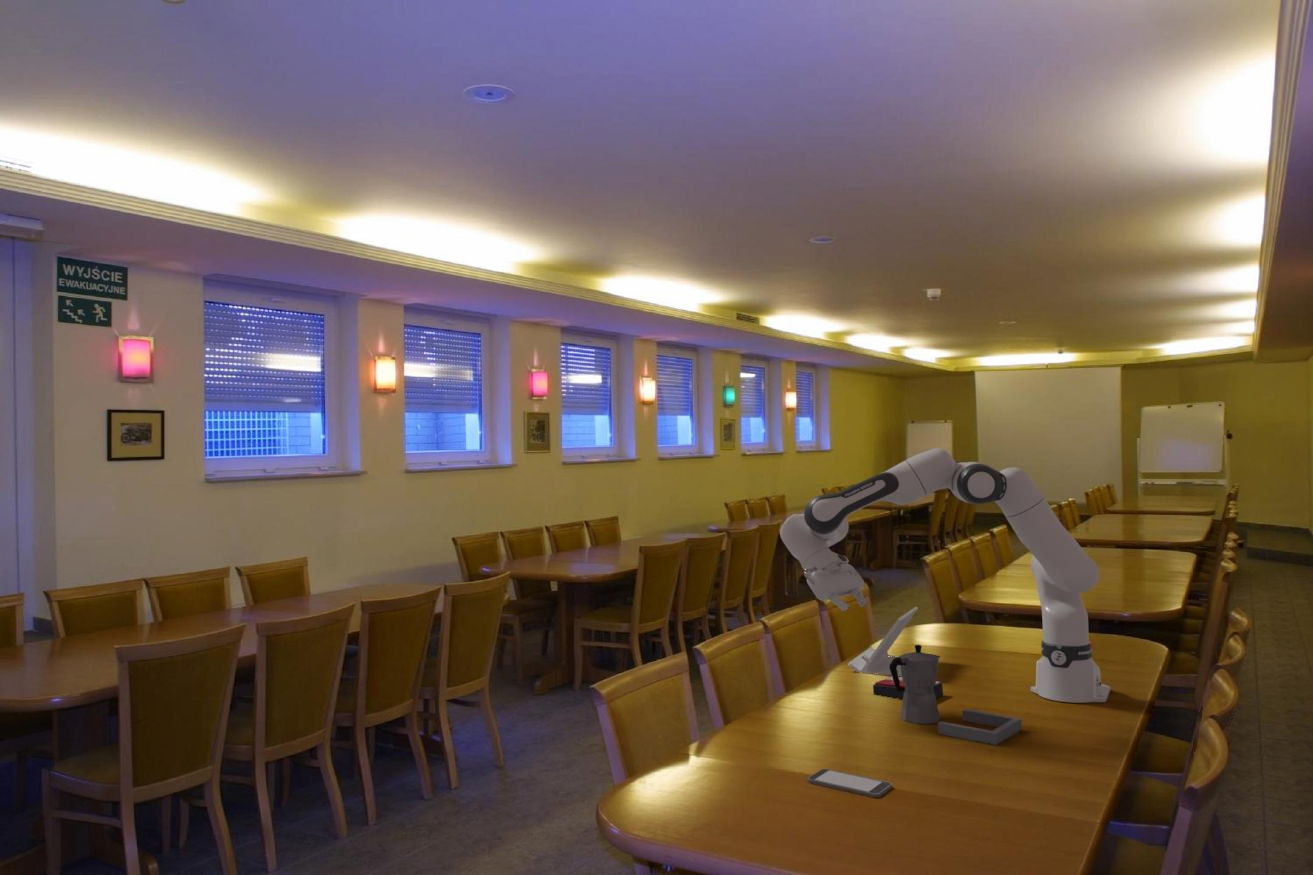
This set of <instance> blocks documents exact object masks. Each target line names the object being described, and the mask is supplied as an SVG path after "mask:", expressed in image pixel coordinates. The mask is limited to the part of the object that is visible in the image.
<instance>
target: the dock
mask: <svg viewBox="0 0 1313 875" xmlns="http://www.w3.org/2000/svg"><path fill="white" fill-rule="evenodd" d="M962 721H963V722H969V723H973V724H980V725H984V726H989V727H995V728H994V729H993V730H988V729H984V728H979V727H978V728H977V727H974V726H967V725H962V724H957V723H951V722H945V721H942V720H941V721H938V722H937V734H938V735H944V736H948V737H953V738H958V739H962V740H967V741H968V740H969V741H974V742H977V741H979V742H978V743H984V744H988V743H990V744H989V745H993V746H994V745H995V746H997V745H999V744H1001V743H1002V742H1004V741H1005V739H1006V738H1007V739H1008V738H1011V737H1012V736H1014V735H1015V734H1016V733H1019V732H1021V729H1022V718H1020V717H1013V716H1007V715H1003V714H996V713H991V712H986V711H979V710H973V709H968V708H967V709H966V708H964V709H962ZM1022 730H1023V729H1022ZM1007 739H1006V740H1007ZM1003 740H1004V741H1003ZM1001 741H1002V742H1001ZM1000 742H1001V743H1000ZM998 743H999V744H998Z"/></svg>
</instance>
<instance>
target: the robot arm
mask: <svg viewBox="0 0 1313 875" xmlns="http://www.w3.org/2000/svg"><path fill="white" fill-rule="evenodd" d="M942 489H945V490H947V491H948V492H949V493H950V494H951V495H952V496H953V497H954V498H955V499H958V500H960V501H962V502H964V503H967V504H973V505H984V504H988V503H993V502H995V504H996V505H997V506H998V507H999V508H1000V509H1001V512H1002V514H1003V515H1004V516H1005V518H1006V520H1007V521H1008V523H1009V525H1010V526H1011V528H1012V530H1013V531H1014V533H1015V535H1016V536H1017V538H1018V539H1019V540H1020V542H1021V543H1022V545H1023V546H1025V547H1026V549H1027V550H1029V552H1030V553H1031V554H1032V557H1031V559H1030V569H1031V572H1032V574H1033V576H1034V579H1035V584H1036V589H1037V594H1038V598H1039V602H1040V603H1039V604H1040V607H1041V609H1040V610H1041V618H1042V641H1041V644H1040V649H1041V655H1042V656H1041V657H1040V659H1038V660H1037V661H1036V670H1035V673H1036V675H1035V685H1033V686H1030V692H1032V693H1035V694H1038V696H1040V697H1042V698H1043V699H1047V700H1051V701H1056V702H1063V703H1064V702H1065V703H1077V704H1079V703H1084V704H1085V703H1106V702H1107V701H1108V699H1109V696H1110V692H1111V686H1109V685H1106V684H1103V683H1102V681H1101V680H1102V676H1101V668H1100V667H1099V666H1098V665H1097V663H1096V662H1095V661H1094V660H1093V648H1094V646H1093V645H1094V644H1093V642H1092V641H1089V636H1090V635H1089V614H1088V611H1087V609H1086V607H1085V605H1084V602H1083V599H1082V595H1081V593H1085V592H1088V591H1091V590H1092V589H1094V588H1095V587H1096V586H1097V584H1098V582H1099V579H1100V569H1099V567H1098V565H1097V563H1096V561H1094V559H1092V558H1091V557H1090V556H1089V555H1088V554H1087V553H1086V552H1085V550H1084V549H1083V548H1082V546H1081V544H1079V542H1077V540H1076V539H1075V538H1074V537H1073V536H1072V534H1071V533H1070V532H1069V531H1068V530H1067V529H1066V527H1065V526H1064V525H1063V524H1062V522H1061V521H1060V519H1059V518H1058V517H1057V514H1055V512H1054V510H1053V508H1052V506H1050V504H1049V502H1048V501H1047V499H1046V498H1045V496H1044V495H1043V492H1041V490H1040V488H1039V487H1038V486H1037V484H1036V483H1035V482H1034V481H1033V480H1032V478H1031V477H1030V476H1029V475H1028V474H1027V473H1026V472H1025V471H1024V470H1023V469H1021V468H1020V467H1014V466H1013V467H1011V466H1010V467H1006V468H1003V469H1001V470H1000V471H998V470H996V469H995V468H993V467H991V466H990V465H986V464H983V463H981V462H977V461H955V459H954V457H953V456H952V455H951V454H950V453H949V452H948V451H947V450H945V449H944V448H940V447H935V448H932V449H929V450H926V451H923V452H920V453H918V454H916V455H913V456H911V457H909V458H906V459H905V460H903V461H902V462H900V463H897V464H896V465H894V466H893V467H890V468H889V469H887V470H885V471H883V472H881V473H878V474H877V475H874V476H871V477H869V478H867V479H864V480H862V481H860V482H858V483H856V484H854V485H851V486H849V487H847V488H845V489H843V490H840V491H838V492H835V493H826V494H820V495H816V496H815V497H813V498H811V500H808V502H807V504H806V505H805V507H804V511H803V513H801V514H799V513H794V514H792V515H790V516H788V517H787V518H786V519H785V520H784V521H783V523H782V524H781V527H780V529H779V535H780V538H781V541H782V543H783V544H784V545H785V547H786V549H787V551H789V552H790V554H791V556H793V557H794V558H795V559H796V560H797V561H798V562H799V563H800V565H801V568H802V569H803V570H804V573H803V574H804V577H805V578H806V583H807V585H808V586H809V588H810V589H811V591H812V593H813V594H814V595H815V597H816V598H817V599H818V600H820V601H821V602H824V601H827V600H828V601H829V600H830V602H831V603H832V604H833V605H835V606H837V607H838V608H839V609H840V610H841V612H846V611H847V610H848V609H849V608H850V606H849V604H848V603H847V602H846V601H844V600H843V599H841V597H846V596H850V595H852V596H853V597H854V598H855V599H856V600H857V601H856V603H857V605H859V607H862V608H863V607H865V606H866V605H867V604H868V601H867V599H866V598H865V597H864V594H863V591H862V590H863V589H864V588H865V586H866V584H865V580H864V579H863V578H862V576H861V575H860V574H859V573H858V571H857V570H856V568H854V566H852V565H851V564H849V562H850V560H849V559H848V557H846V555H841V554H838V553H836V552H834V551H832V549H830V548H831V547H832V546H834V545H836V544H837V543H839V542H841V541H843V540H844V539H845V538H846V536H847V535H848V533H849V529H850V524H849V520H848V518H847V517H848V516H850V515H851V514H853V513H854V512H857V511H859V510H861V509H863V508H867V507H868V506H870V505H873V504H874V503H879V502H890V503H893V504H894V505H899V506H906V505H909V504H912V503H915V502H917V501H919V500H922V499H923V498H926V497H927V496H929V495H931V494H933V493H935V492H936V491H939V490H942Z"/></svg>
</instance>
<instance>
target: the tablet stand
mask: <svg viewBox="0 0 1313 875" xmlns="http://www.w3.org/2000/svg"><path fill="white" fill-rule="evenodd" d="M918 609H919V608H918V606H915V607H913V608H911V609H910V610H909V611H907V612H906V613H904V614H903V615H901V616H900V617H898V618H897V620H896V621H895V622H894V624H893V625H892V626H891V628H890V629H889V631H888V632H887V633H886V634H885V636H884V638H883V639H882V640H881V642H880V643H879V644H878V646H877V647H876V649H874V647H872V646H870V647H868V648H867V649H866V650H864V651H863V652H861V653H860V654H858V655H857V656H856V657H854V658H853V659H852V660H850V661H849V662H848V664H847V666H848V667H850V668H851V669H852V670H853V671H855V672H856V673H858V672H862V673H861V674H867V673H876V674H875V675H877V673H878V674H883V675H882V676H888V675H892V674H891V671H890V667H889V666H890V663H891V662H892V660H893V659H894V658H897V657H895V656H896V655H892V654H891V655H890V654H889V653H888V651H889V650H890V649H891V647H892V646H893V645H894V643H895V642H896V640H897V639H898V637H899V636H900V635H901V633H902V632H903V630H904V629H905V628H906V627H907V625H908V624H909V622H910V621H911V619H912V618H913V616H914V615H915V613H916V612H917V611H918ZM888 656H890V657H888ZM891 656H892V657H891ZM896 669H897V673H898V675H899V676H902V673H901V667H900V665H897V667H896Z"/></svg>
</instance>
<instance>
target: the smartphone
mask: <svg viewBox="0 0 1313 875" xmlns="http://www.w3.org/2000/svg"><path fill="white" fill-rule="evenodd" d="M807 783H808V784H811V783H813V785H816V786H820V785H821V786H822V787H825V786H828V787H827V788H829V787H830V789H834V788H836V789H835V790H838V789H839V790H838V791H842V790H844V792H847V791H850V792H849V793H851V792H852V793H853V794H856V793H857V794H856V795H860V794H862V795H861V796H866V797H869V796H870V797H869V798H873V797H878V798H880V797H881V796H883V795H884V794H886V793H887V792H888V791H891V789H892V788H893V784H892V782H889V781H885V780H880V779H875V778H871V777H866V776H862V775H857V774H853V773H852V774H851V773H848V772H844V771H838V770H835V769H830V768H822V769H819V770H818V771H816V772H815V773H812V774H811V775H810V776H808V777H807ZM882 794H883V795H882Z"/></svg>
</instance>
